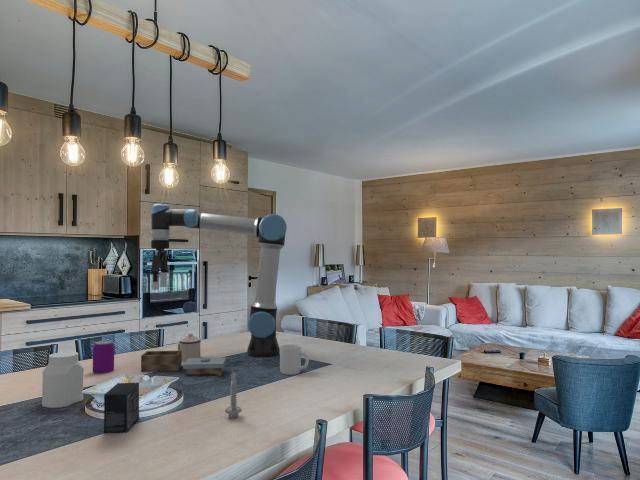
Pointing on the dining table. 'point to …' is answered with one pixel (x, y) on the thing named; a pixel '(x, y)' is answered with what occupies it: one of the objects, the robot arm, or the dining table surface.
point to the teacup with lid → (189, 347)
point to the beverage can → (103, 357)
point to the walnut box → (161, 361)
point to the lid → (204, 363)
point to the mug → (292, 359)
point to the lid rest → (206, 371)
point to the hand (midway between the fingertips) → (159, 288)
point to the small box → (121, 407)
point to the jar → (62, 380)
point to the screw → (233, 399)
